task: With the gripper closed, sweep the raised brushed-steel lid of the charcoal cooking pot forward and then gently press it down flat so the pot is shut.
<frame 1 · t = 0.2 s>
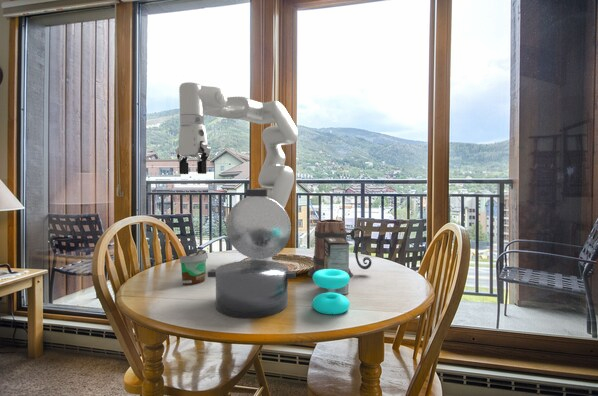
hand: (192, 173, 110), 37 cm above the table, tool pointing down, fingers open, 9 cm apart
food container: (198, 282, 114), on the table
pot lid: (258, 223, 102), point 21 cm above the table, hinge at 80.0°
coffee box: (335, 290, 105), on the table
donuts: (330, 309, 90), on the table
tankard: (339, 274, 123), on the table
cooking pot: (252, 303, 93), on the table
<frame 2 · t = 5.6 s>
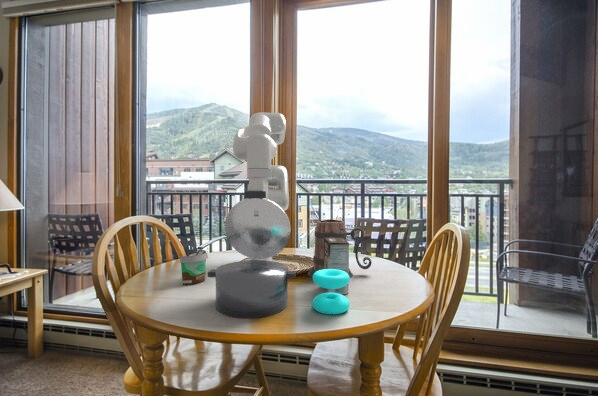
hand: (259, 233, 103), 18 cm above the table, tool pointing down, fingers closed
pot lid: (258, 224, 101), point 21 cm above the table, hinge at 73.9°, touching gripper
everything else where it was.
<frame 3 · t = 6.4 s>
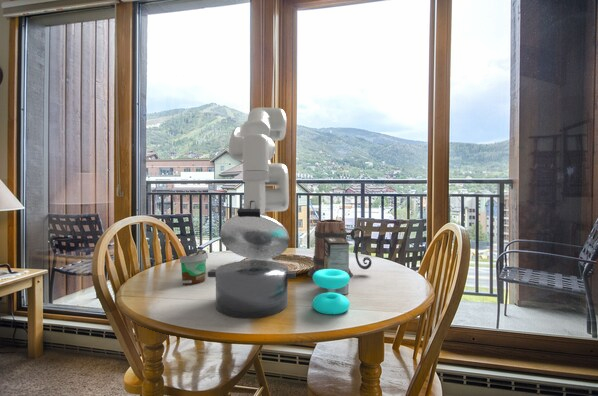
hand: (256, 238, 98), 18 cm above the table, tool pointing down, fingers closed
pot lid: (254, 233, 96), point 19 cm above the table, hinge at 46.9°, touching gripper
everything else where it was.
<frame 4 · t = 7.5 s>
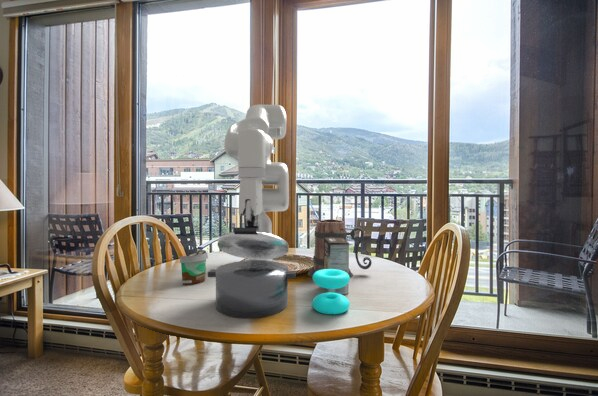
hand: (252, 239, 92), 18 cm above the table, tool pointing down, fingers closed
pot lid: (253, 242, 94), point 17 cm above the table, hinge at 31.3°, touching gripper
everything else where it was.
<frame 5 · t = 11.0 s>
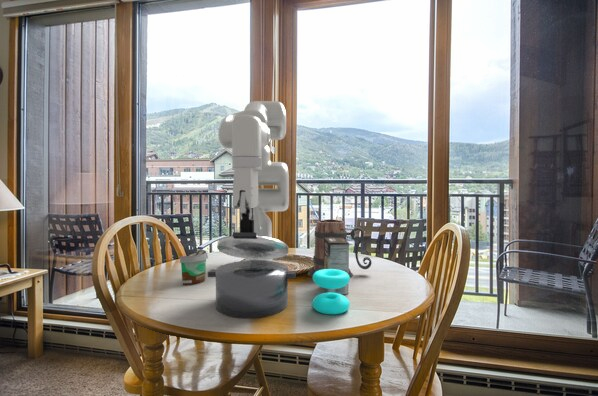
hand: (247, 234, 86), 21 cm above the table, tool pointing down, fingers closed
pot lid: (252, 244, 93), point 17 cm above the table, hinge at 27.9°
everything else where it was.
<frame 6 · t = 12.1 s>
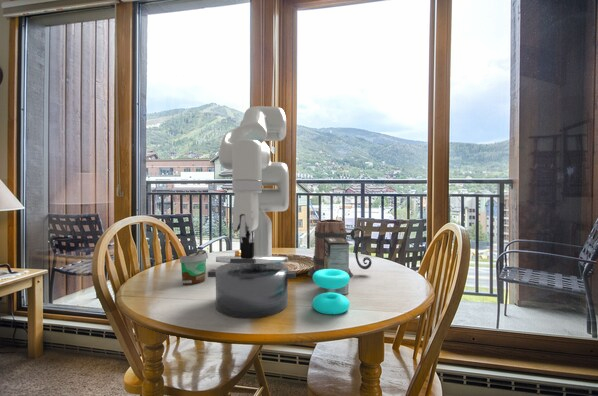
hand: (247, 257, 86), 15 cm above the table, tool pointing down, fingers closed
pot lid: (251, 256, 92), point 14 cm above the table, hinge at 10.7°, touching gripper
everything else where it was.
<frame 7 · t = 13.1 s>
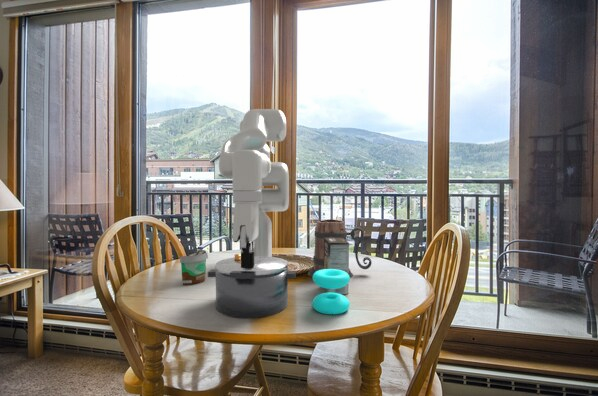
hand: (247, 267, 87), 12 cm above the table, tool pointing down, fingers closed
pot lid: (251, 262, 92), point 12 cm above the table, hinge at 2.1°, touching gripper
everything else where it was.
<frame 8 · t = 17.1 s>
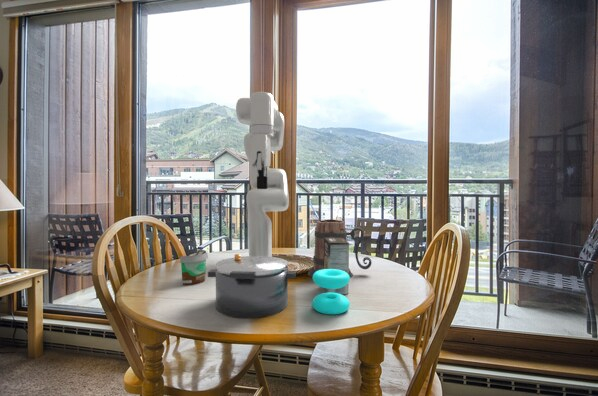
hand: (262, 188, 107), 32 cm above the table, tool pointing down, fingers closed
pot lid: (251, 262, 92), point 12 cm above the table, hinge at 1.9°
everything else where it was.
at the end: pot lid at +2° (first picture: +80°) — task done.
